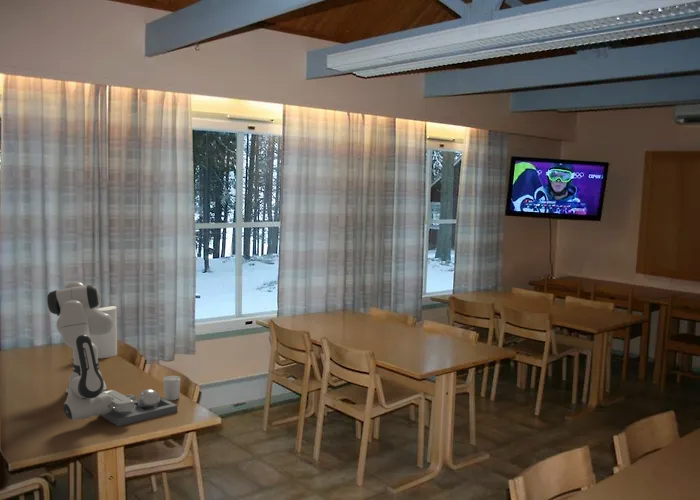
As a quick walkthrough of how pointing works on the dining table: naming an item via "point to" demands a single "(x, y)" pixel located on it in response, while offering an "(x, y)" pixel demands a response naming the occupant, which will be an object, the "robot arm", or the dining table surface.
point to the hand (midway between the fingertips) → (134, 396)
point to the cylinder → (107, 336)
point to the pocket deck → (140, 413)
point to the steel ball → (148, 399)
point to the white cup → (172, 387)
